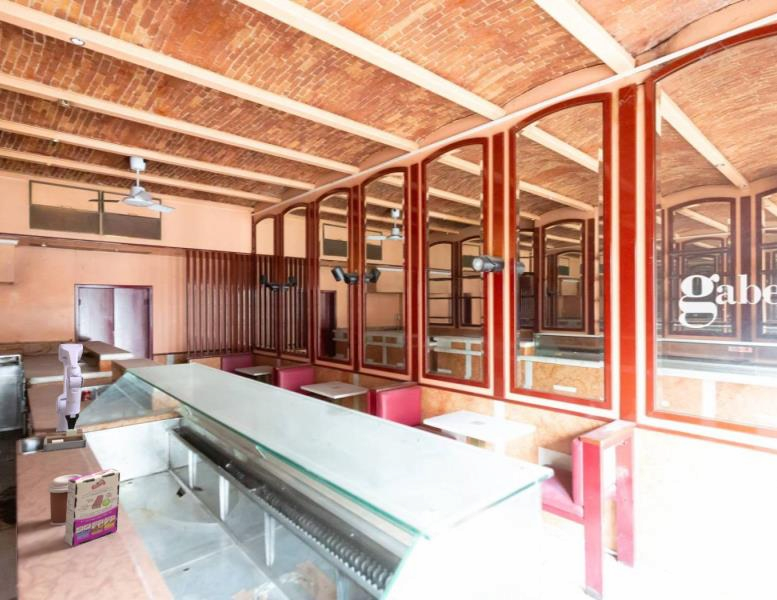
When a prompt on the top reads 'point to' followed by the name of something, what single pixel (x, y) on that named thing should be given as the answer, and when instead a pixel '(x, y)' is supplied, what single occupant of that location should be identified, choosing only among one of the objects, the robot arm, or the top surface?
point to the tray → (64, 445)
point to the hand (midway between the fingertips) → (71, 429)
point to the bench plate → (63, 436)
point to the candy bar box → (92, 506)
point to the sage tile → (71, 432)
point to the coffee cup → (59, 499)
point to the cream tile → (57, 441)
